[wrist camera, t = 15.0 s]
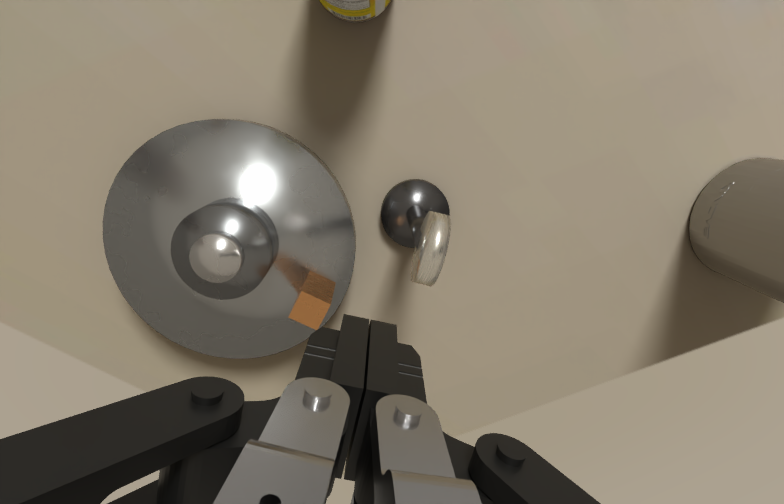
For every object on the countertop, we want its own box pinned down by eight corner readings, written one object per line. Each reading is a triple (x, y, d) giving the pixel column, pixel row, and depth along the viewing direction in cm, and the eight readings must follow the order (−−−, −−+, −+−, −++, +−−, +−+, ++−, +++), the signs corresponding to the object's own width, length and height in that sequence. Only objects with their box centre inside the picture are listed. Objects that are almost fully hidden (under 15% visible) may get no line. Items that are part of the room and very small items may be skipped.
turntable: (167, 71, 31) (121, 61, 25) (396, 191, 33) (401, 207, 28) (84, 288, 34) (28, 322, 29) (296, 380, 37) (282, 426, 32)
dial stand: (456, 188, 35) (496, 224, 23) (437, 251, 36) (466, 314, 25) (390, 171, 34) (399, 199, 23) (373, 235, 35) (374, 292, 24)
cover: (209, 181, 31) (185, 191, 27) (293, 223, 32) (281, 238, 28) (176, 259, 32) (148, 279, 28) (257, 296, 33) (241, 321, 29)
